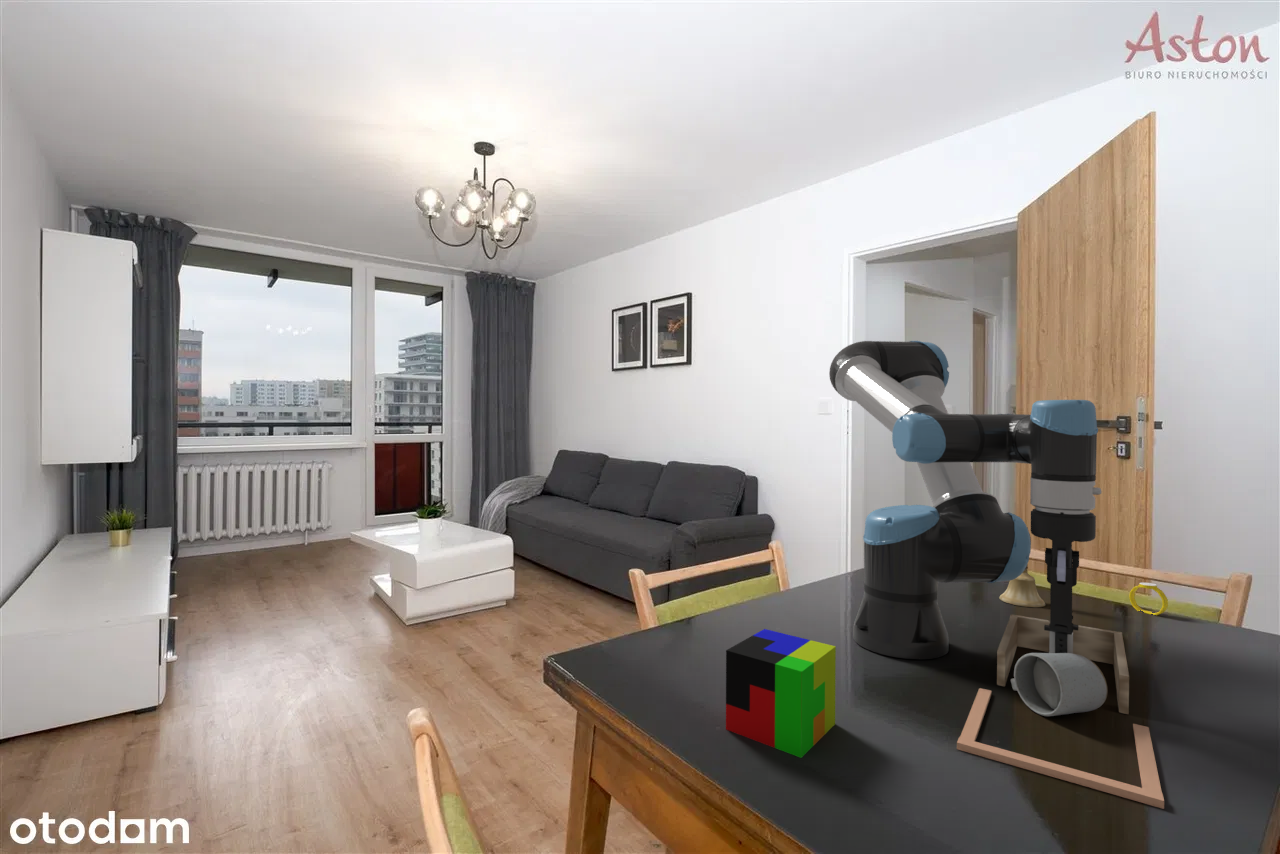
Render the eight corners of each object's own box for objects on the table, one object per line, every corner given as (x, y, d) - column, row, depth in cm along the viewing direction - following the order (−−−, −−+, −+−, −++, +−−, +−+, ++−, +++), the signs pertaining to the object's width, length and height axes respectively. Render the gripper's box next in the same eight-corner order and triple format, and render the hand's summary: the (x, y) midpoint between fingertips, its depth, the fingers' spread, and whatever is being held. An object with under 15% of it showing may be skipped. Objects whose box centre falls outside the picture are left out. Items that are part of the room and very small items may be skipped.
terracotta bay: (956, 749, 72) (956, 742, 72) (979, 691, 87) (979, 685, 87) (1163, 809, 61) (1164, 801, 61) (1148, 731, 76) (1148, 724, 76)
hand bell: (1044, 599, 131) (1045, 525, 131) (1046, 610, 124) (1046, 531, 124) (999, 593, 135) (1000, 522, 135) (998, 603, 128) (999, 527, 128)
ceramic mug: (1113, 719, 78) (1113, 660, 79) (1062, 727, 77) (1061, 666, 77) (1041, 686, 89) (1041, 633, 89) (994, 692, 87) (994, 638, 87)
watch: (1127, 611, 124) (1125, 582, 124) (1135, 609, 125) (1133, 580, 126) (1163, 618, 119) (1161, 587, 119) (1170, 616, 120) (1168, 585, 120)
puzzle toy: (764, 701, 84) (764, 628, 84) (835, 724, 78) (835, 646, 77) (725, 730, 76) (726, 650, 76) (801, 758, 70) (801, 671, 70)
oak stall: (996, 684, 89) (997, 650, 89) (1010, 643, 106) (1011, 614, 105) (1128, 714, 80) (1129, 676, 80) (1121, 663, 97) (1121, 632, 97)
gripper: (1097, 518, 78) (1095, 701, 79) (1094, 506, 89) (1093, 667, 89) (1027, 513, 83) (1026, 686, 83) (1033, 502, 93) (1032, 656, 94)
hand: (1060, 676), depth 86 cm, fingers closed
